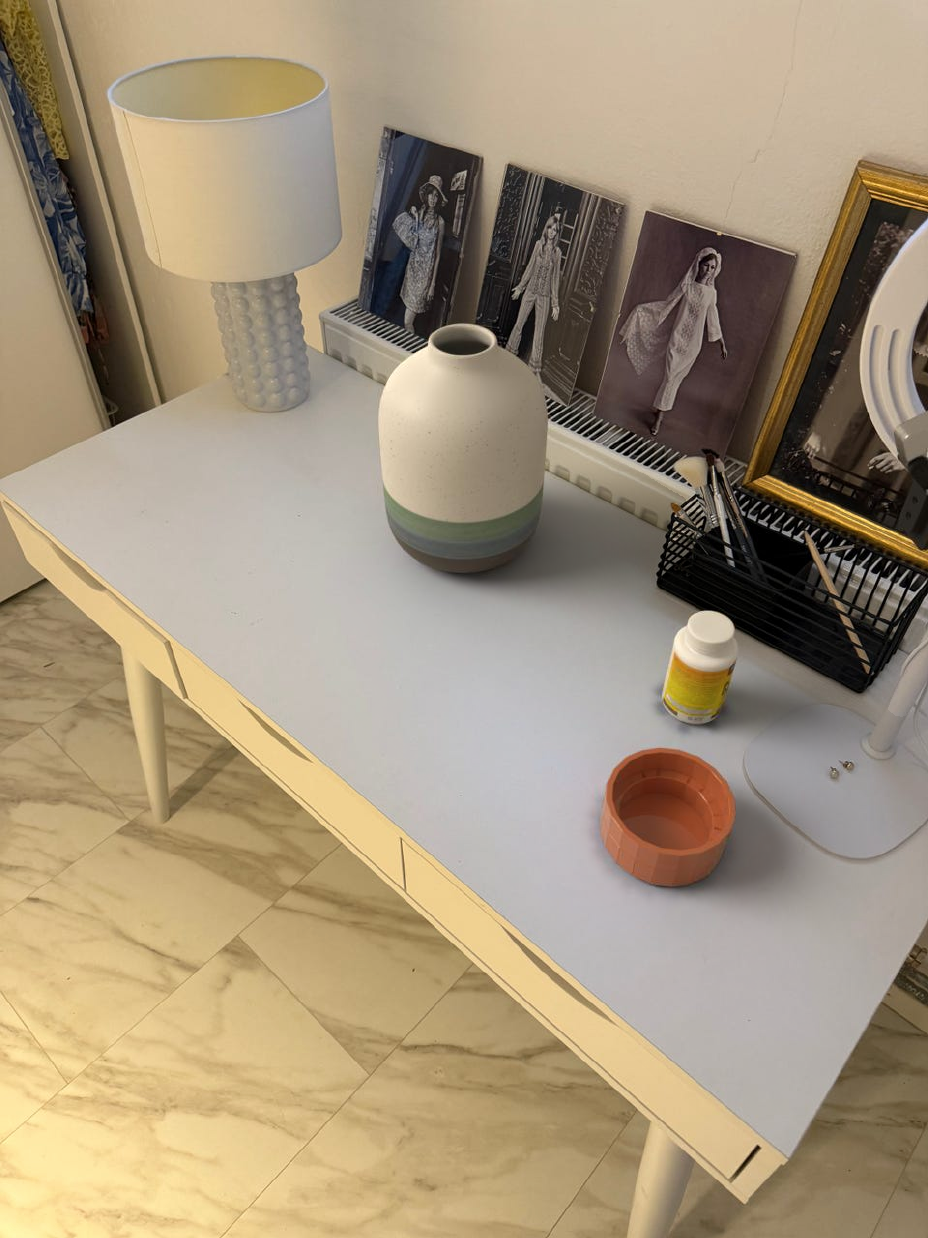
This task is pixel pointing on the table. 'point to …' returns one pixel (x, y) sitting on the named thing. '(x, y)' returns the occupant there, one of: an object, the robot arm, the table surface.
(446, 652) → the table surface
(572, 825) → the table surface
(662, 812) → the bowl
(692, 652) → the supplement bottle
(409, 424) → the vase
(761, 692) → the table surface
